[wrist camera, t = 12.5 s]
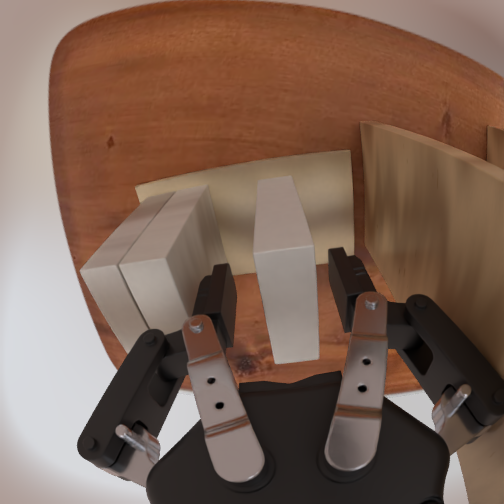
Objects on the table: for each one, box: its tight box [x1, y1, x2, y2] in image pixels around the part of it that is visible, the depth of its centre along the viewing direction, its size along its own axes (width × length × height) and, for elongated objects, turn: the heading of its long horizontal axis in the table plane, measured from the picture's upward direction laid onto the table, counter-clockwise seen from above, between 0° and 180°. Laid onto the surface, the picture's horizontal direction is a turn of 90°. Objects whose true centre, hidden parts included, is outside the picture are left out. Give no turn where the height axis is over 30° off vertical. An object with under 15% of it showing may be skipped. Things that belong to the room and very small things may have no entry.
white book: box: [253, 176, 319, 364], centre depth 17 cm, size 7×2×10 cm, turn 10°
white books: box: [80, 149, 354, 353], centre depth 17 cm, size 9×16×10 cm, turn 100°
